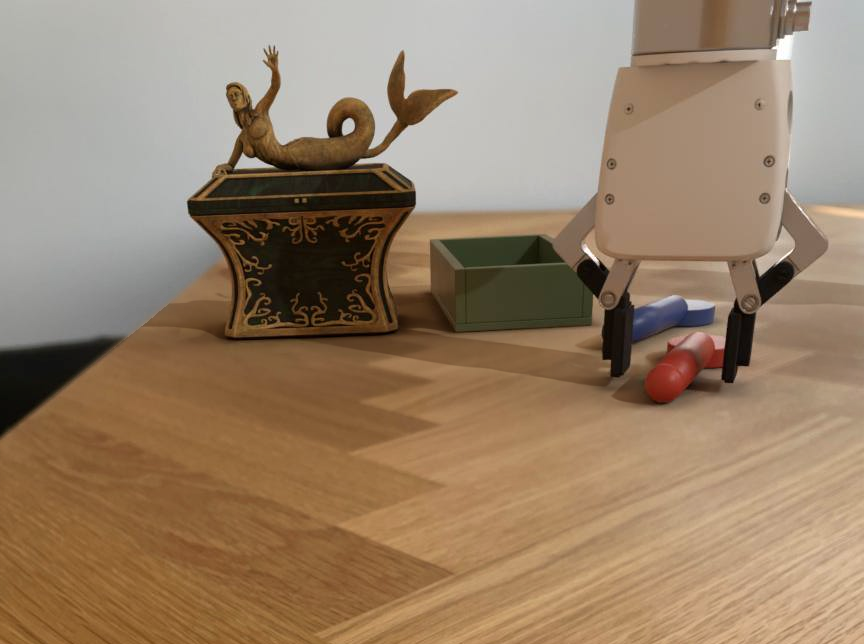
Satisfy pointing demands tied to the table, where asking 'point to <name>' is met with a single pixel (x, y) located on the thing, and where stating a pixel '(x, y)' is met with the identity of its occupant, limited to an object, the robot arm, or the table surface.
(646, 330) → the blue spoon
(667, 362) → the red spoon
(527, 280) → the bin
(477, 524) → the table surface
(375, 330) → the decorative box
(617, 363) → the robot arm
